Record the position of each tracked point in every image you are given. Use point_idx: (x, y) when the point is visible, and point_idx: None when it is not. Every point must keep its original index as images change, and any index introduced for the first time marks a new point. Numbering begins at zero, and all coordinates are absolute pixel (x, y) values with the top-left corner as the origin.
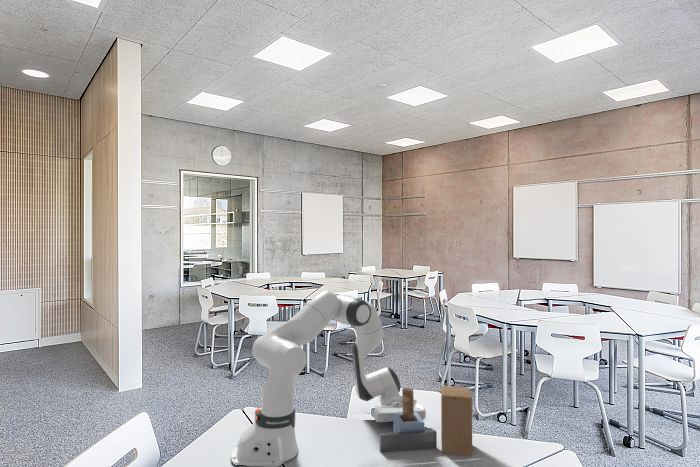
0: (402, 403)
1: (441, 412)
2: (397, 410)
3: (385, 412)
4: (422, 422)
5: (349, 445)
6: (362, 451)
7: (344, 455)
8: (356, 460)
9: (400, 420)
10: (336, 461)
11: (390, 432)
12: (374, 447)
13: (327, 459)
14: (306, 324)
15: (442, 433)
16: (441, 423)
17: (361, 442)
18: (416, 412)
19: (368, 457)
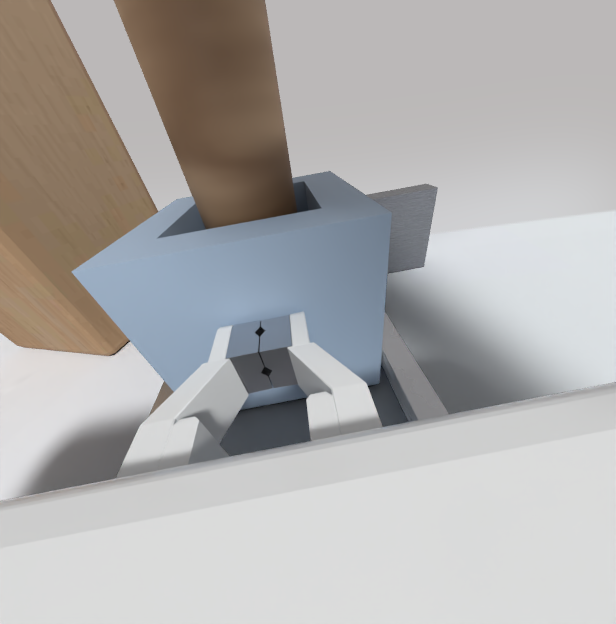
0: (263, 2)
1: (37, 139)
2: (320, 577)
3: None
4: (187, 197)
5: (610, 277)
6: (498, 257)
7: (556, 235)
8: (486, 229)
9: (320, 182)
10: (554, 218)
11: (405, 372)
12: (459, 281)
13: (600, 217)
14: None
15: (156, 208)
16: (80, 227)
17: (565, 303)
18: (87, 263)
19: (452, 242)
